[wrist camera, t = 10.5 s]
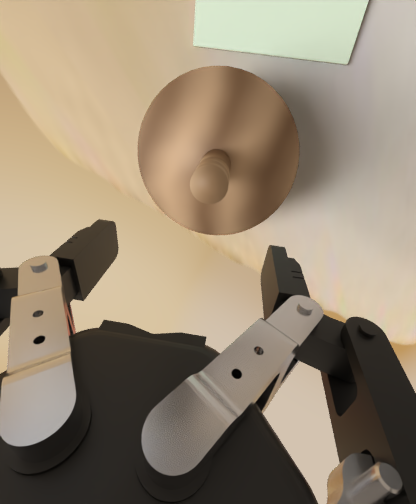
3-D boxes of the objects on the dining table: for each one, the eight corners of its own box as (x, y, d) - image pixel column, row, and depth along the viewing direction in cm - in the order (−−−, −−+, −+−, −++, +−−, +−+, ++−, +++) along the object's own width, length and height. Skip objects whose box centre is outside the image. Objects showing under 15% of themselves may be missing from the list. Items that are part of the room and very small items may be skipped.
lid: (322, 79, 22) (356, 74, 16) (274, 240, 32) (283, 280, 25) (137, 55, 23) (94, 41, 16) (143, 220, 32) (118, 254, 26)
